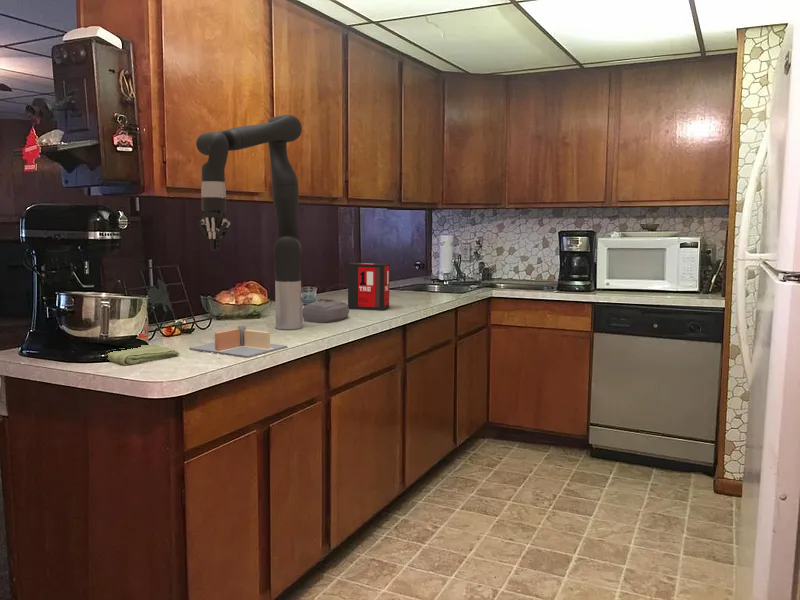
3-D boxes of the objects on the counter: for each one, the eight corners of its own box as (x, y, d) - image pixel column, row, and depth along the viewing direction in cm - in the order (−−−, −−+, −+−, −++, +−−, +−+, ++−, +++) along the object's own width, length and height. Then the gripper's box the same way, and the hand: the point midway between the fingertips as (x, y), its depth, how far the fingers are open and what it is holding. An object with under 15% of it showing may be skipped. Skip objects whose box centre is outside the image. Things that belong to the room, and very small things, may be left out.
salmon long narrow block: (237, 344, 201) (236, 328, 200) (239, 345, 200) (239, 329, 200) (215, 349, 193) (214, 333, 193) (218, 350, 193) (217, 333, 192)
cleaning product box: (389, 308, 294) (389, 263, 292) (384, 310, 285) (384, 265, 283) (354, 306, 298) (354, 262, 295) (347, 309, 289) (348, 264, 287)
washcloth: (182, 357, 189) (181, 346, 188) (125, 368, 174) (124, 356, 174) (155, 351, 196) (155, 341, 196) (99, 361, 182) (98, 350, 182)
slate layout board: (230, 340, 213) (230, 320, 212) (287, 347, 203) (287, 326, 202) (189, 349, 198) (188, 328, 197) (248, 357, 187) (247, 335, 186)
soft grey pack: (328, 324, 248) (356, 317, 265) (328, 302, 247) (356, 297, 264) (296, 321, 255) (325, 315, 272) (296, 300, 254) (325, 295, 271)
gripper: (189, 196, 209) (191, 250, 211) (220, 195, 203) (222, 251, 205) (206, 196, 215) (208, 249, 218) (237, 196, 209) (238, 251, 211)
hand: (215, 250), depth 211 cm, fingers closed
